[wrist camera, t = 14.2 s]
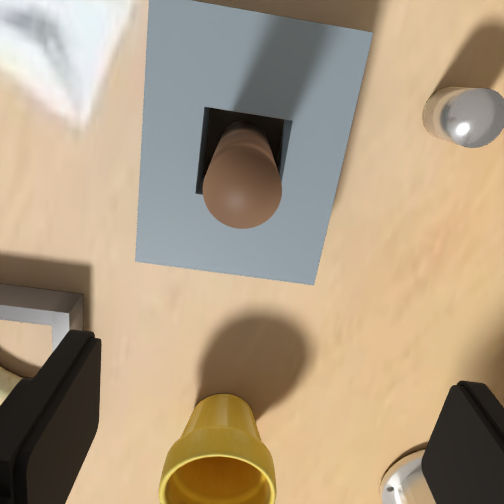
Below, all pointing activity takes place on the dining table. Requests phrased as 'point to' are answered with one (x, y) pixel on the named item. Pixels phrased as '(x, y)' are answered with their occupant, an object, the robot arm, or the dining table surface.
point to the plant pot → (219, 458)
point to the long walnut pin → (242, 178)
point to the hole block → (251, 102)
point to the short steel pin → (465, 115)
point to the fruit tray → (42, 309)
